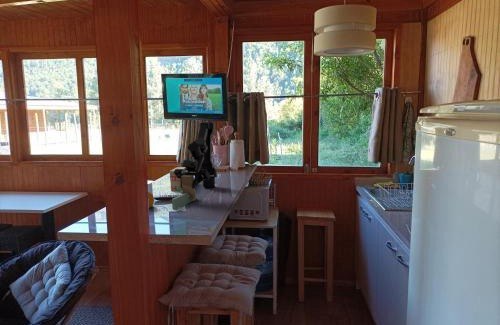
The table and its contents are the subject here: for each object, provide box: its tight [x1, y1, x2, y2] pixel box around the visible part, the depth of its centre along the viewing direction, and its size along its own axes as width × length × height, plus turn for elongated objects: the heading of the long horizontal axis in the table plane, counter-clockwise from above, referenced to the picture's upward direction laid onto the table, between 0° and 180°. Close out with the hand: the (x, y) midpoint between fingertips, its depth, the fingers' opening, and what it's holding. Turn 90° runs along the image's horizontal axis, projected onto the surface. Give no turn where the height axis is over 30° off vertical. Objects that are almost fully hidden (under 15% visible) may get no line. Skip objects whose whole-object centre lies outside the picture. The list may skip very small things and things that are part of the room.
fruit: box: [147, 190, 155, 209], centre depth 179 cm, size 12×12×10 cm
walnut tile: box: [181, 175, 196, 202], centre depth 187 cm, size 2×6×12 cm, turn 69°
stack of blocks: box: [169, 166, 187, 192], centre depth 224 cm, size 21×6×12 cm, turn 169°
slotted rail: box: [171, 189, 197, 210], centre depth 184 cm, size 20×2×5 cm, turn 159°
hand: (186, 188), depth 186 cm, fingers closed on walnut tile, 6 cm apart
